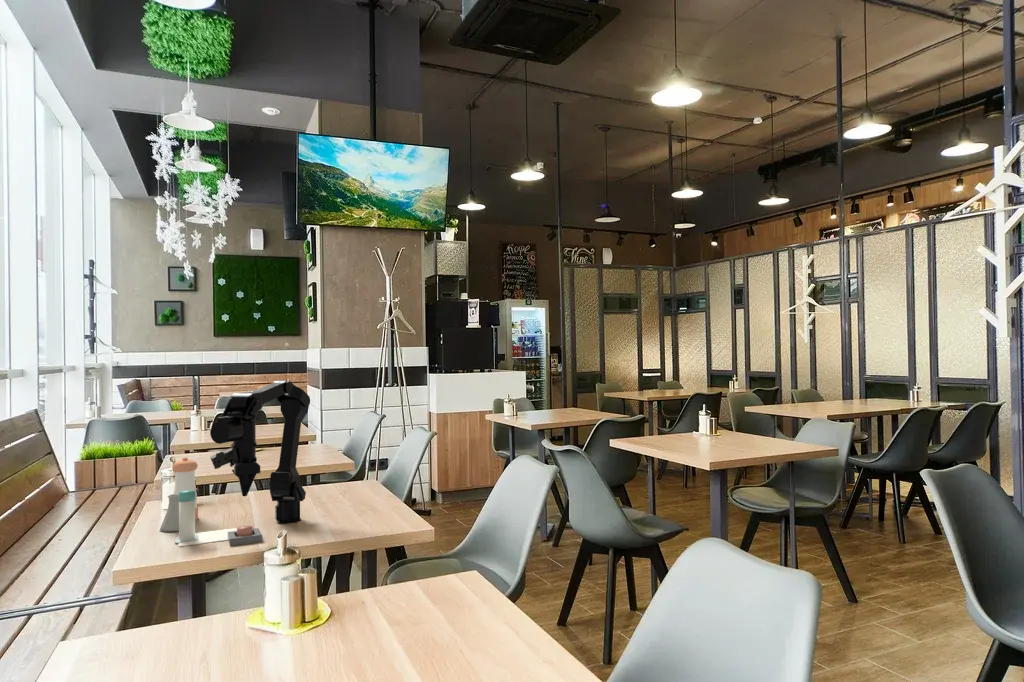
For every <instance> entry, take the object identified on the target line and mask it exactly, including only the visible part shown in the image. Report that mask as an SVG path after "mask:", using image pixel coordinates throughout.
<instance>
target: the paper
mask: <svg viewBox="0 0 1024 682" xmlns="http://www.w3.org/2000/svg"><path fill="white" fill-rule="evenodd" d="M231 531H237V527H235V528H226V529H217V530H211V531H202V532H195V539H193V540H188V541H179V537H175V541H174V542H175V544H178V547H179V548H180V547H188V546H189V547H190V546H196V545H204V544H209V543H210V544H211V543H218V542H226V541H228V532H231Z"/></svg>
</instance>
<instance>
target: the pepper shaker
mask: <svg viewBox="0 0 1024 682" xmlns="http://www.w3.org/2000/svg"><path fill="white" fill-rule="evenodd" d="M171 468H172V471H173V472H174V490H173V494H179V491H183V490H196V491H197V488H196V476H195V475H196V470H197V469H198V463H197V462H196V461H195V460H193V459H189V458H188V457H183V458H181V460H177V461H176V462H174V463H173V464H172V467H171ZM197 503H198V494H197V492H196V500H195V521H197V520H198V519H199V506H198V505H197Z"/></svg>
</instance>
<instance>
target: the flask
mask: <svg viewBox="0 0 1024 682" xmlns="http://www.w3.org/2000/svg"><path fill="white" fill-rule="evenodd" d="M167 498H168V504H167V505H168V506H167V510H166V513H165V515H164V518H163V519H162V520H163V521H162V523H161V525H160V528H159V531H160V532H177V531H178V532H179V494H174V493H173V494H169V495H167Z"/></svg>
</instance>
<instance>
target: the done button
mask: <svg viewBox="0 0 1024 682" xmlns="http://www.w3.org/2000/svg"><path fill="white" fill-rule="evenodd" d="M236 528H237V537H239V536H246V535H253V529H254V528H253V525H247V524H246V525H241V526H238V527H236Z"/></svg>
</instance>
